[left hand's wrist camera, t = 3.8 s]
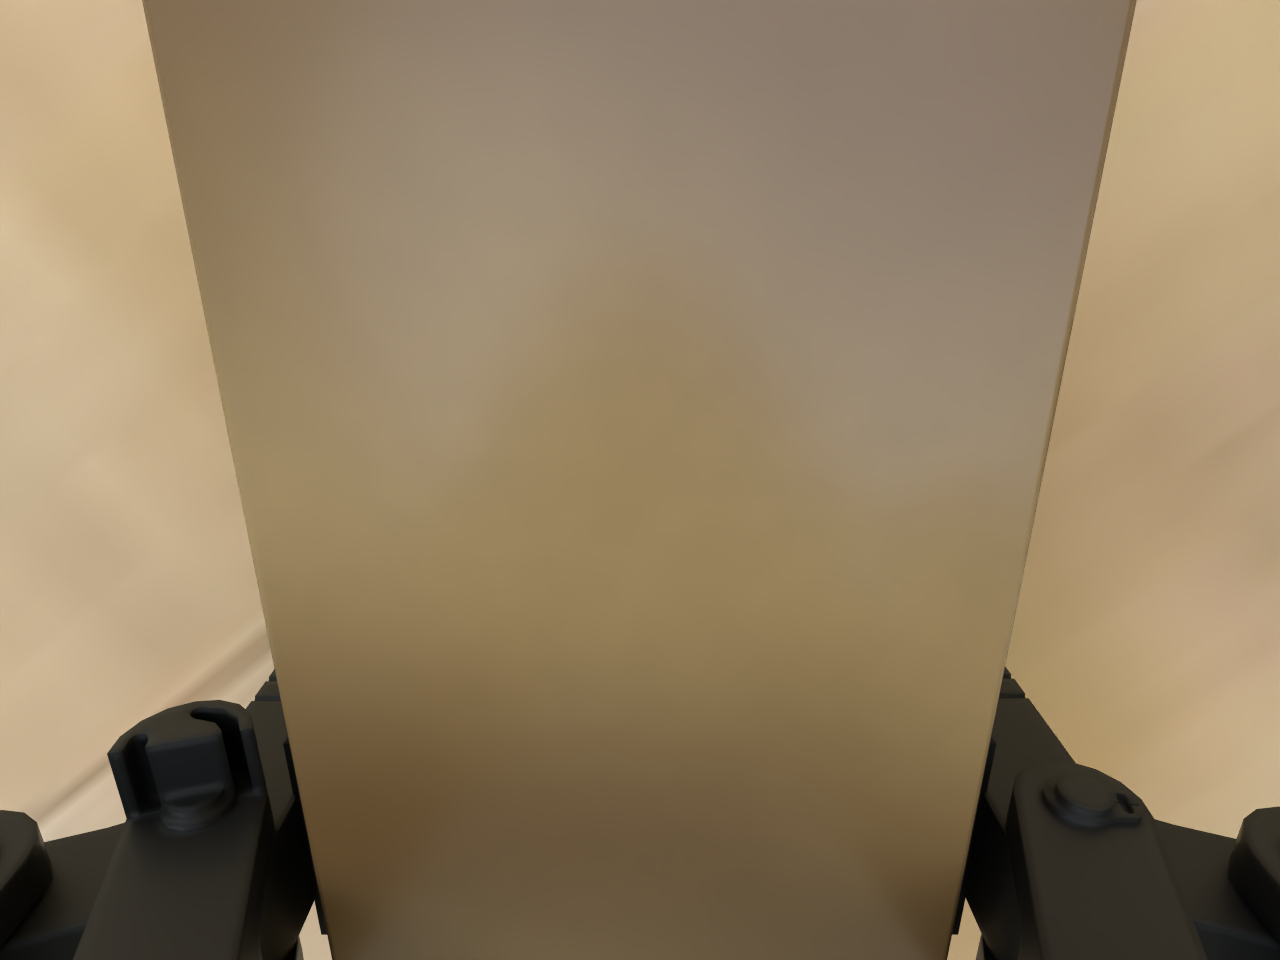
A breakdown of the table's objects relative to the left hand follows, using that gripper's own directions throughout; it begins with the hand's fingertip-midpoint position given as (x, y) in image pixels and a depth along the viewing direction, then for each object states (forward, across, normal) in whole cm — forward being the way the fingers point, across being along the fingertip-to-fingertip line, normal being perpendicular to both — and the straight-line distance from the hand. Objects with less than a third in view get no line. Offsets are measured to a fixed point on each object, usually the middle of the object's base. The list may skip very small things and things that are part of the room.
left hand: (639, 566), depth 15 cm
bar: (0, 0, -12) cm, 12 cm away
